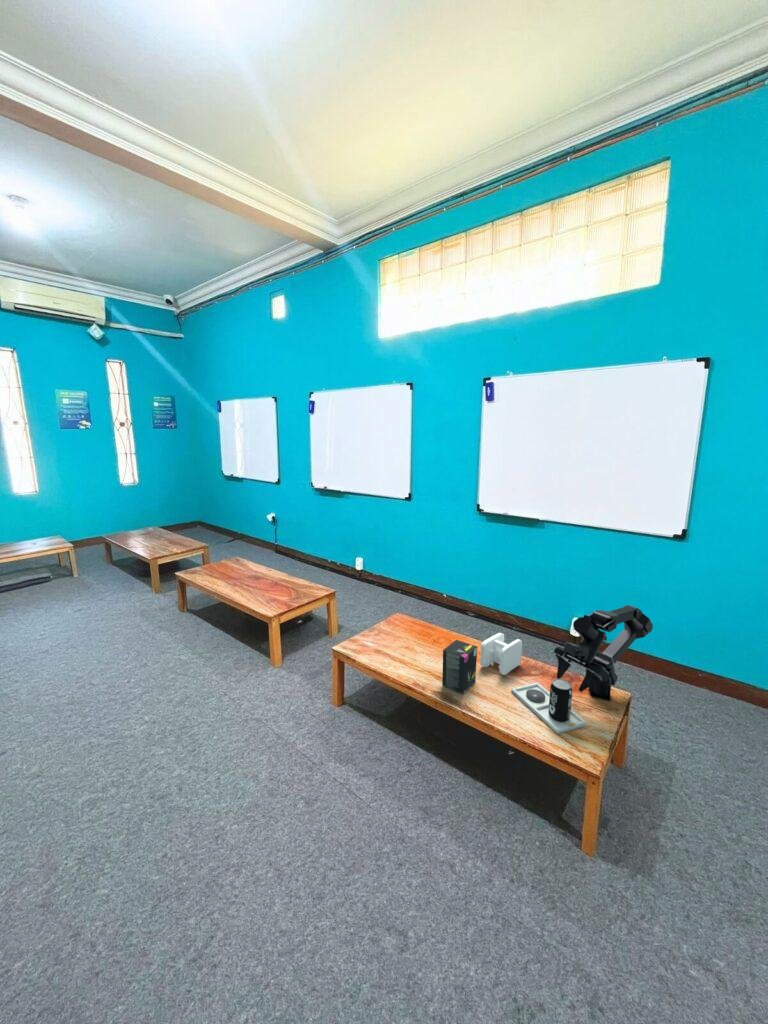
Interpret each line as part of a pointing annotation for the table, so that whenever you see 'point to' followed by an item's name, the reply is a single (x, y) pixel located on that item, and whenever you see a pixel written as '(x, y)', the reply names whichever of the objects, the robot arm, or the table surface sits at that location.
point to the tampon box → (459, 666)
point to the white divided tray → (545, 707)
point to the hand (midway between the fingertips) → (568, 684)
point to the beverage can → (560, 700)
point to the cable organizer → (501, 653)
